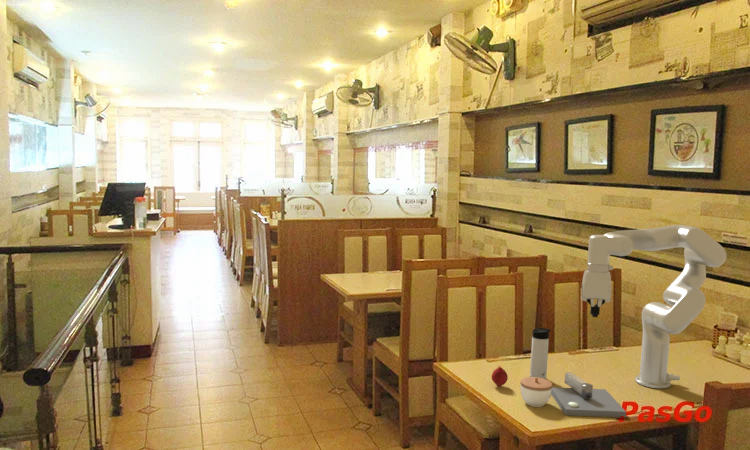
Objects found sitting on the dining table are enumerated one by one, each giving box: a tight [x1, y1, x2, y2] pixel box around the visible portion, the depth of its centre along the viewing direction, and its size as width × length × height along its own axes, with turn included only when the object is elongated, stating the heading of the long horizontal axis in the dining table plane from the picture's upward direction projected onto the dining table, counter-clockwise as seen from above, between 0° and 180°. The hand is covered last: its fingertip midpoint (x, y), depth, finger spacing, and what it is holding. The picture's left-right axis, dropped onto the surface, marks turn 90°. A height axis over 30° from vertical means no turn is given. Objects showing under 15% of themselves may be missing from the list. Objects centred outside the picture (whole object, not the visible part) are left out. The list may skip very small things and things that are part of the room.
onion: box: [491, 365, 509, 387], centre depth 228 cm, size 6×6×8 cm
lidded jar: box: [520, 376, 553, 408], centre depth 213 cm, size 11×11×9 cm
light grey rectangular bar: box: [564, 371, 594, 399], centre depth 219 cm, size 15×4×5 cm, turn 12°
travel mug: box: [529, 327, 551, 380], centre depth 237 cm, size 6×7×20 cm
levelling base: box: [551, 386, 627, 418], centre depth 214 cm, size 20×20×3 cm
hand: (594, 316), depth 229 cm, fingers closed
